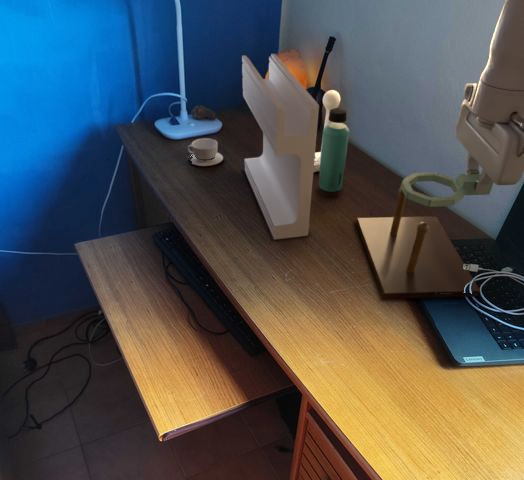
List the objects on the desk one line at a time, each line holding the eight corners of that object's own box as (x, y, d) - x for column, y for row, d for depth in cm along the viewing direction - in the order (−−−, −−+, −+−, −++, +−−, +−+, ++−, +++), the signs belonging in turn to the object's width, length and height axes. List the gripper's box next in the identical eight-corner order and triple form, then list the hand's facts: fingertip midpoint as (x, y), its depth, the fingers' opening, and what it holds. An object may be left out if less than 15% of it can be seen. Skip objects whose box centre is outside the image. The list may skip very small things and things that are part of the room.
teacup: (226, 153, 137) (225, 137, 134) (219, 168, 130) (218, 152, 127) (193, 151, 138) (191, 135, 135) (184, 166, 131) (182, 149, 128)
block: (307, 235, 107) (319, 105, 87) (273, 239, 106) (277, 108, 86) (272, 168, 131) (275, 53, 110) (244, 171, 129) (241, 55, 109)
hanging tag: (475, 177, 88) (480, 164, 86) (497, 205, 81) (502, 191, 79) (396, 179, 87) (398, 166, 85) (410, 207, 80) (414, 193, 78)
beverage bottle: (339, 199, 119) (350, 116, 104) (314, 195, 120) (321, 113, 106) (344, 187, 123) (355, 106, 109) (319, 183, 124) (327, 103, 110)
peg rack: (434, 221, 111) (450, 170, 102) (477, 296, 92) (501, 242, 83) (356, 223, 111) (364, 172, 102) (383, 299, 91) (396, 244, 82)
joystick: (339, 176, 128) (349, 97, 113) (313, 179, 126) (320, 99, 112) (324, 159, 135) (332, 82, 121) (299, 161, 134) (305, 85, 119)
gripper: (554, 127, 66) (516, 214, 76) (497, 81, 80) (471, 160, 90) (511, 128, 66) (479, 215, 76) (461, 81, 80) (439, 160, 90)
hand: (474, 185), depth 83 cm, fingers closed on hanging tag, 3 cm apart
